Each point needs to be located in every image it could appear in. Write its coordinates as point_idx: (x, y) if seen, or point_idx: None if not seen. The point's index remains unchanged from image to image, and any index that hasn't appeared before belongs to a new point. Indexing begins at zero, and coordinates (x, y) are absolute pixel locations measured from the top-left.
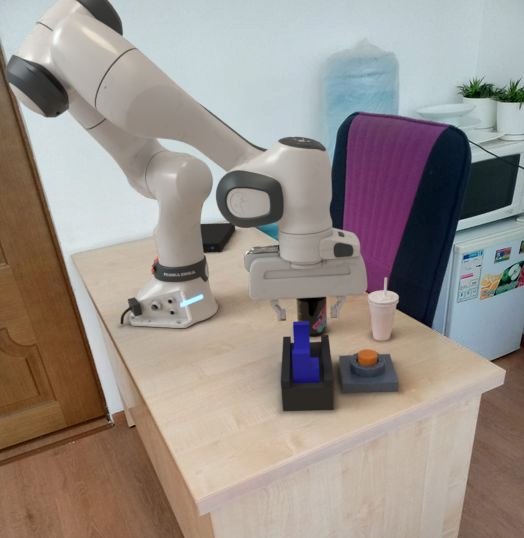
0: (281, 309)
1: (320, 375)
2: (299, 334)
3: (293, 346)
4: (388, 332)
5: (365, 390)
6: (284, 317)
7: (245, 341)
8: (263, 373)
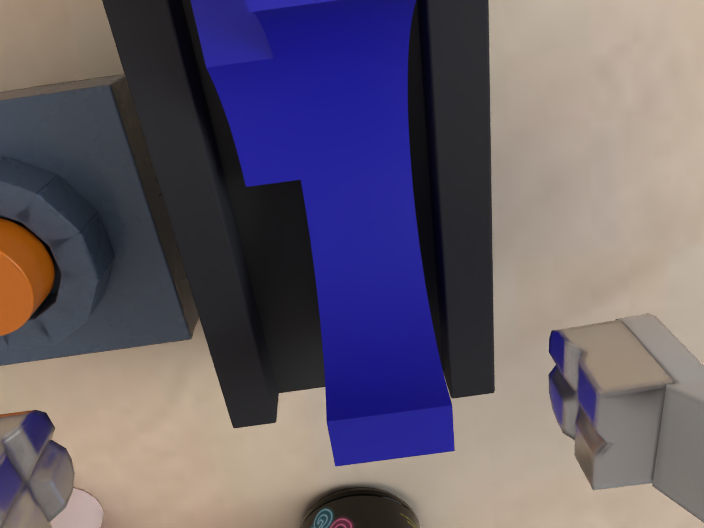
0: (647, 462)
1: None
2: (394, 352)
3: None
4: None
5: (8, 93)
6: (586, 347)
7: None
8: (554, 213)
